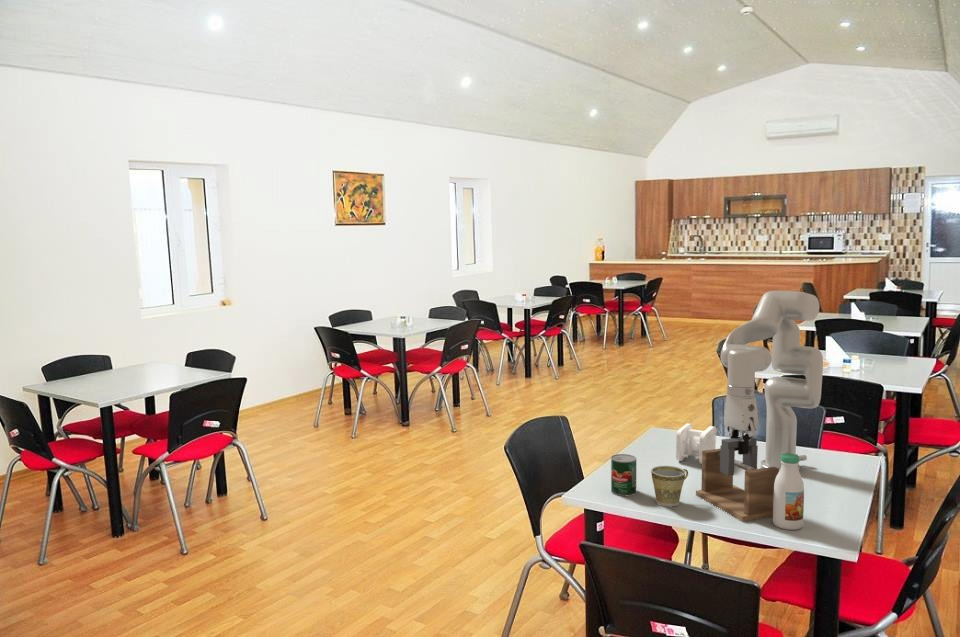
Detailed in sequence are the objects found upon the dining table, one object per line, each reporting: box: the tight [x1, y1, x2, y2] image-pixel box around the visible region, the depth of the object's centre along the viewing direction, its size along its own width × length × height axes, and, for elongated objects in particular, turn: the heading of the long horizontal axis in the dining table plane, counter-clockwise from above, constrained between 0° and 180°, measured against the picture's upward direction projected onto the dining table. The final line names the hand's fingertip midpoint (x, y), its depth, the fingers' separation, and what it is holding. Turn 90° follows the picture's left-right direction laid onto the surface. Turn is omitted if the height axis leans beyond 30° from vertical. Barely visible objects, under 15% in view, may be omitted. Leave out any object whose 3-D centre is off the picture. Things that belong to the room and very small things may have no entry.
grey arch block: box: [719, 436, 759, 476], centre depth 214 cm, size 10×4×10 cm, turn 108°
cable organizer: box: [675, 422, 718, 465], centre depth 258 cm, size 15×11×12 cm
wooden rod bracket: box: [695, 448, 779, 523], centre depth 215 cm, size 22×14×14 cm, turn 18°
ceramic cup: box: [650, 465, 689, 507], centre depth 219 cm, size 13×10×10 cm
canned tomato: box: [610, 453, 637, 497], centre depth 228 cm, size 8×8×11 cm
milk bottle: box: [772, 453, 805, 531], centre depth 199 cm, size 8×8×20 cm
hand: (739, 451), depth 214 cm, fingers closed on grey arch block, 3 cm apart
